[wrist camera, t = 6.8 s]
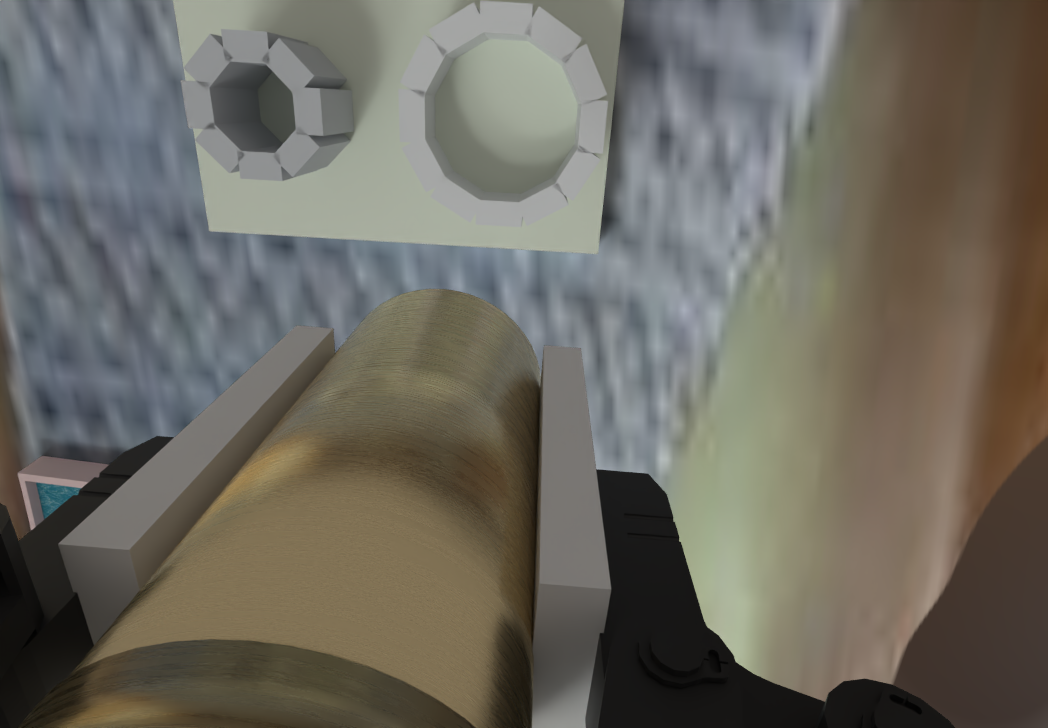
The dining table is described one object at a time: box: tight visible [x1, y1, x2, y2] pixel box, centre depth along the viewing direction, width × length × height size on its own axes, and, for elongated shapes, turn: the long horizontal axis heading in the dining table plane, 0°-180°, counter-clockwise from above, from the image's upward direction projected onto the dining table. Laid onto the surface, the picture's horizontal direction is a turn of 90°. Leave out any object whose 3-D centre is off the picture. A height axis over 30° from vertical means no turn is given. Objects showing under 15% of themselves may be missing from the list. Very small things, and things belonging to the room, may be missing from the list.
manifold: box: [173, 0, 624, 254], centre depth 24 cm, size 18×11×6 cm, turn 87°
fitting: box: [18, 289, 541, 728], centre depth 9 cm, size 4×4×10 cm
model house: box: [18, 456, 108, 530], centre depth 34 cm, size 25×17×11 cm
